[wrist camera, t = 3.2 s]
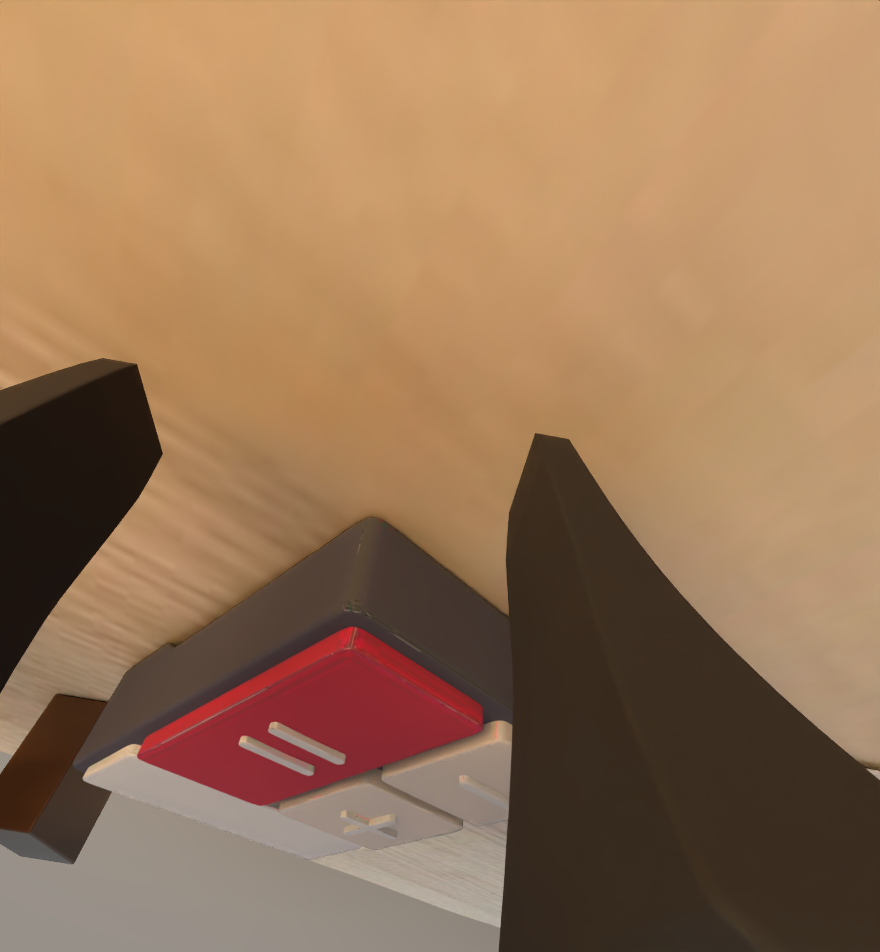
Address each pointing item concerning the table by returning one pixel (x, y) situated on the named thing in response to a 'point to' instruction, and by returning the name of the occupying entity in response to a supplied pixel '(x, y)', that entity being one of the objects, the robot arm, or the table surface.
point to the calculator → (324, 707)
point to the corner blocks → (51, 785)
